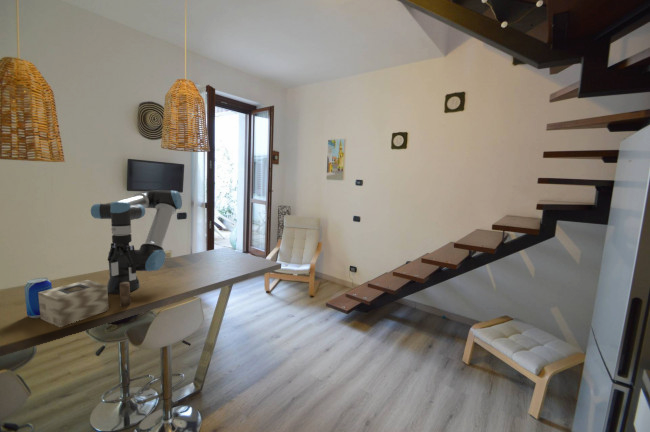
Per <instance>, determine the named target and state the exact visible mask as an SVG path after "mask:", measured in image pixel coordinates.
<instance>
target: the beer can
mask: <svg viewBox="0 0 650 432" xmlns="http://www.w3.org/2000/svg"><path fill="white" fill-rule="evenodd" d="M23 289H24V297H25V299H24V300H25V308H26V315H27V316H28V317H29V318H31V319H39V318H41V317H40V306H39V295H38V292H41V291H45V290H49V289H53V286H52V282H51V281H50V280H49V278H48V277H35V278H33V279H29V280H27V281H26V284H25V286H24V287H23Z"/></svg>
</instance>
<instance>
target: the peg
mask: <svg viewBox="0 0 650 432" xmlns="http://www.w3.org/2000/svg"><path fill="white" fill-rule="evenodd" d="M119 285H120V293H119V299H120V300H119V301H120V303H119V304H120V307H124V308H125V307H129V306H131V302H132V301H131V291H130V282H122V283H120V284H119Z"/></svg>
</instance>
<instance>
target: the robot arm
mask: <svg viewBox="0 0 650 432" xmlns="http://www.w3.org/2000/svg"><path fill="white" fill-rule="evenodd" d="M182 206H183V199H182V195H181V193H180V192H179V191H177V190H172V189H171V190H163V189H161V190H159V189H158V190H157V189H155V190H154V189H152V190H146V191H143V192H139V193H136V194H134V195H133V196H130V197H127V198H122V199H119V200H115V201H112V202H108V203H95V204H93V205H92V206H91V208H90V214H91V216H92V218H94V219H99V220H110V221H111V222H110V223H111V228H110V231H111V234H112V236H111V243H110V248H109V249H110V250H109V251H108V256H107V262H108V269H109V271H108V273H109V278H108V282H107V284H106V285H107V290H108V294H112V295H114V294H118V295H119V294H120V285H119V284H120V283H122V282H130V292H133V291H135V290H137V289H139V288H140V286H141V285H140V281H139V278H138V276H137V272H155V271H159V270H160V269H161V268H162V267H164V263H165V261H166V256H167V255H166V252H165V251H164V247H163V243H164V240H165V237H166V234H167V230H168V228H169V226H170V222H171V219H172V216H173V215H175V214H176V211H177V210H180V209H182ZM146 209H155V210H156V211H155V215H154V217H153V220H152V222H151V226H150V228H149V231H148V233H147V236H146V240H145V242H143V243H142V244H140V248H139V249H135V245H134V244H132V245H130V243H131V242H132V234H131V233H132V221H134V220H138V219H141V218H143V217H144V216H145V214H146Z"/></svg>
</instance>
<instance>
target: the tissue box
mask: <svg viewBox="0 0 650 432" xmlns="http://www.w3.org/2000/svg"><path fill="white" fill-rule="evenodd" d="M38 295H39V306H40V317H39V318H40V320H43V321H45V322H47V323H49V324H51V325H53V324H54V326H55V327H59V328H60V327H61V328H63V327H65V325H66V326H68V324H69V325H72V324H74V323H77V322H79V320H80V321H82V320H85V319H88V318H91V317H93V316H96V315H98V314H101V313H104V312H107V311H109V309H110V308H109V307H110V306H109V296H108V295H109V293H108V290H107V284H103V283H100V282H97V281H92V280H90V279H86V280H81V281H80V280H79V281H78V282H77V281H76V282H73V283H69V284H66V285H65V284H64V285H61V286H58V287H52V289H49V290H45V291H41V292H38ZM76 321H77V322H76ZM71 323H72V324H71Z"/></svg>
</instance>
